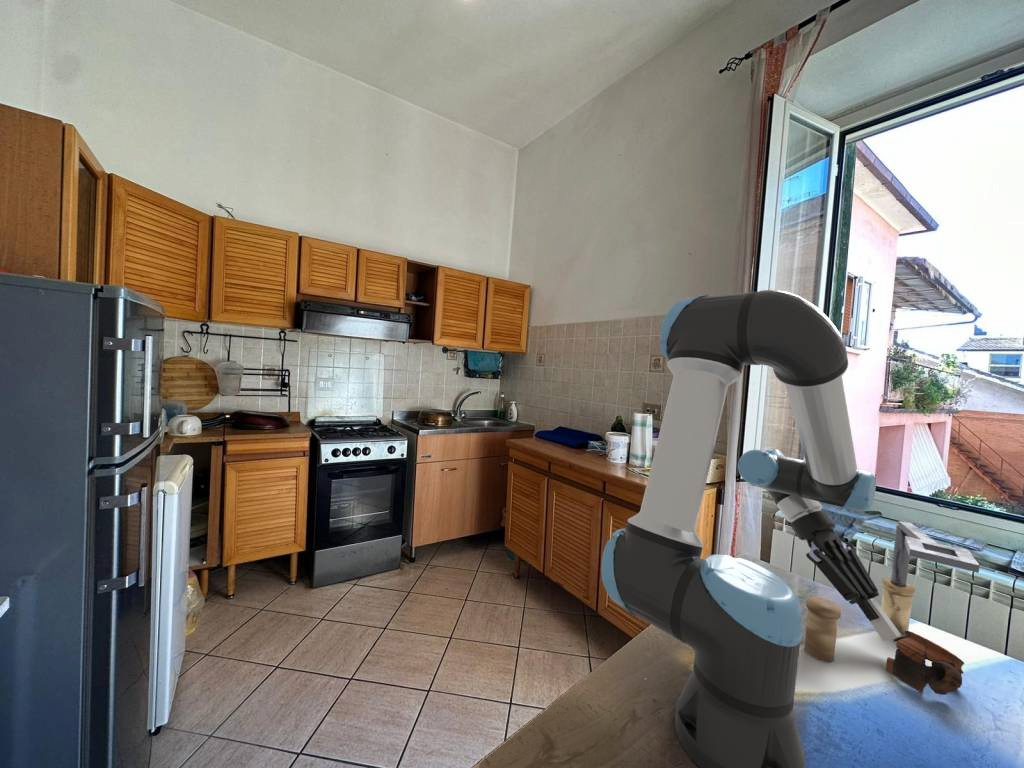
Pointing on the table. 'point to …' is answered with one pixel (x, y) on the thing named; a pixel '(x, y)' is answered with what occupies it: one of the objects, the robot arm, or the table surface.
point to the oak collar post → (821, 628)
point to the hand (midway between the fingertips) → (892, 638)
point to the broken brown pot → (913, 667)
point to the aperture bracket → (896, 588)
